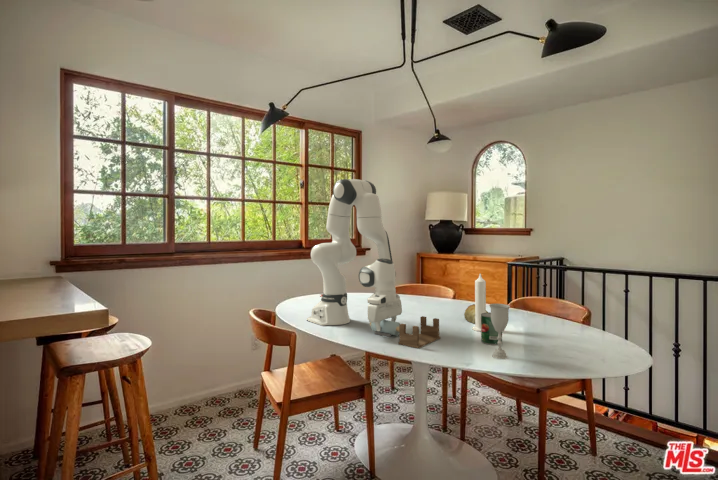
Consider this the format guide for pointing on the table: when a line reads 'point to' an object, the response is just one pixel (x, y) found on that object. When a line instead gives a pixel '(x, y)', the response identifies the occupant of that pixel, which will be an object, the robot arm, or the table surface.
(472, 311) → the pastry
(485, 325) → the canned tomato
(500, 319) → the chalice
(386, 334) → the rest strips
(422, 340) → the roll holder
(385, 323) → the paper roll
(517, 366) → the table surface
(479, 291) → the candle
